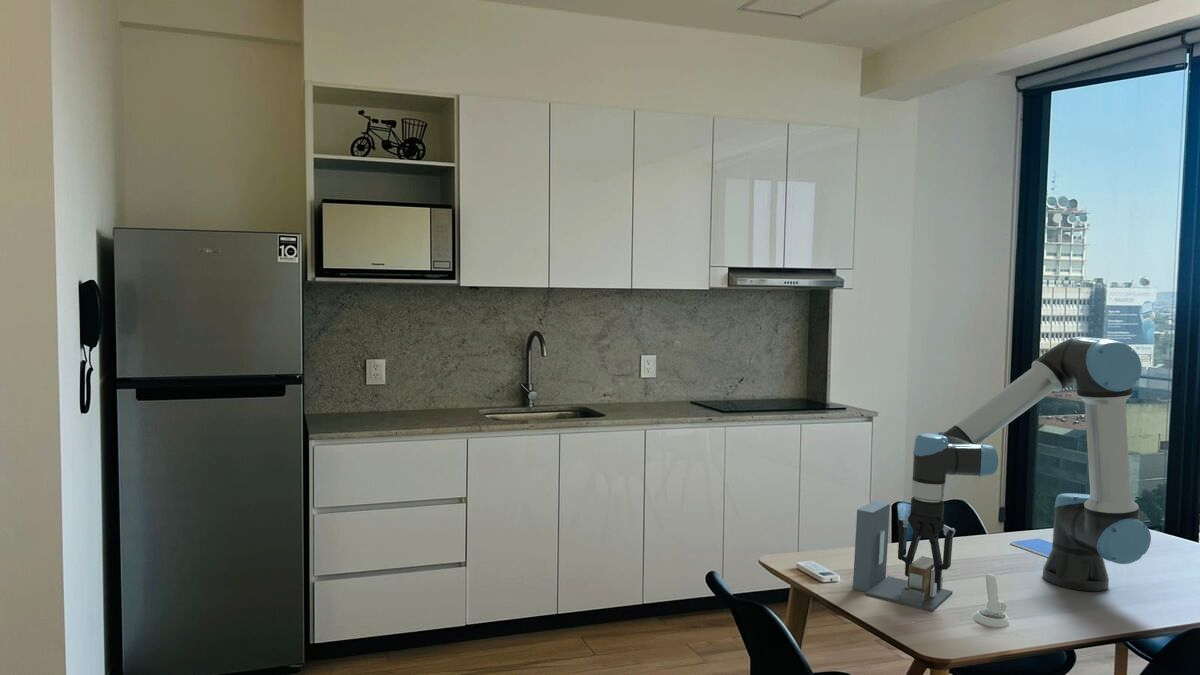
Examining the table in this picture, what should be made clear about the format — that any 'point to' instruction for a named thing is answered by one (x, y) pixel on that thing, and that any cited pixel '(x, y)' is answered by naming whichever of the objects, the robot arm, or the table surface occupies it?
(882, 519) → the slotted tower stand
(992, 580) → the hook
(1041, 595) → the table surface
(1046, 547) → the tablet computer
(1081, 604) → the table surface
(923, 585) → the labeled wooden box
